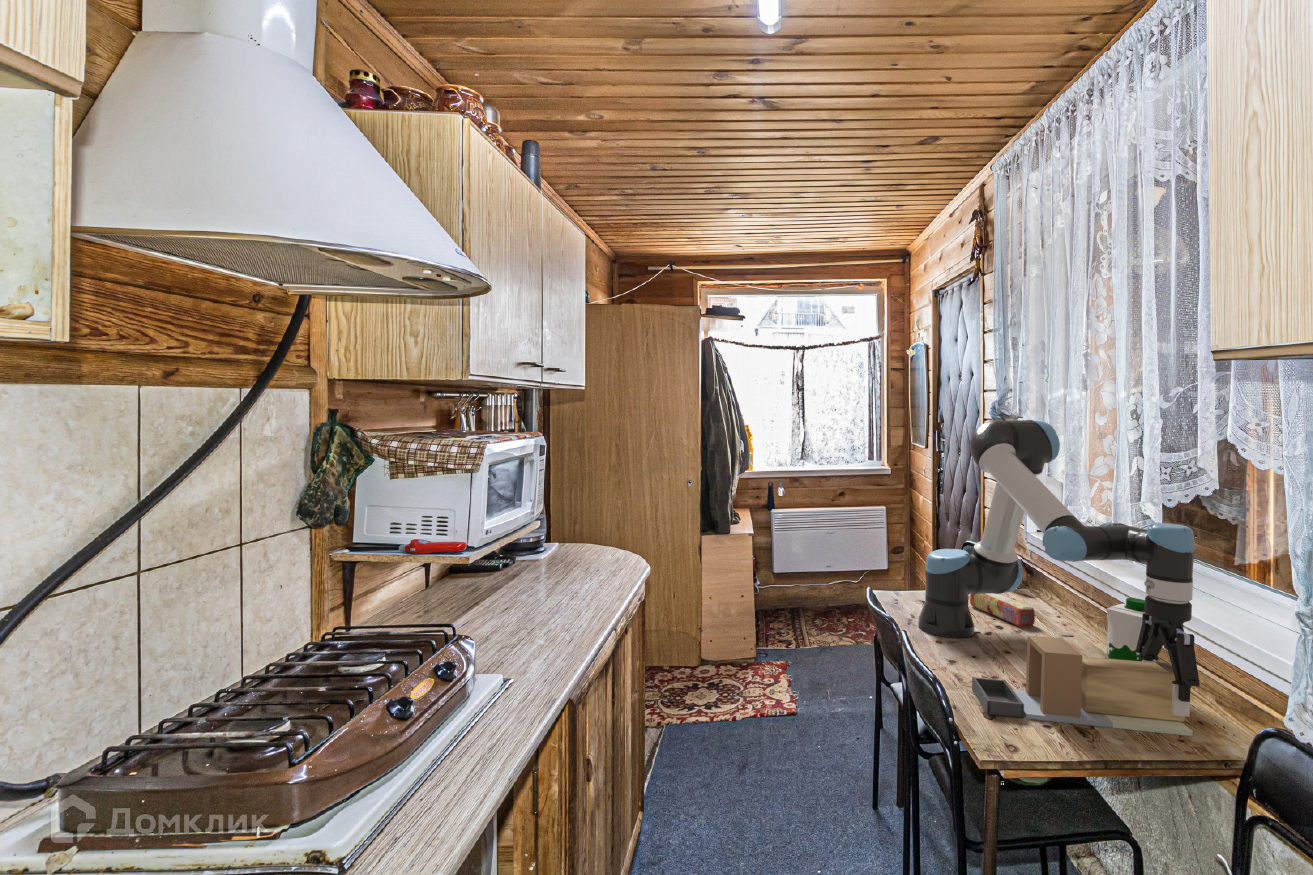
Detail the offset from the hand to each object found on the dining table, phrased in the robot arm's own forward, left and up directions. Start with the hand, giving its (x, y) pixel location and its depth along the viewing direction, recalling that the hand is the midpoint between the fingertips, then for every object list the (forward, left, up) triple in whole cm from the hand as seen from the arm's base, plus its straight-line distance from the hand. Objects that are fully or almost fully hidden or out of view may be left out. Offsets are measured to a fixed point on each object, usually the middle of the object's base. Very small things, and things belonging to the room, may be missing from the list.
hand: (1164, 702), depth 128 cm
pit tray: (0, -32, -4) cm, 32 cm away
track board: (0, -13, -4) cm, 14 cm away
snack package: (-65, -12, -4) cm, 66 cm away
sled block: (0, -7, -3) cm, 7 cm away
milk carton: (-18, +2, -4) cm, 19 cm away
